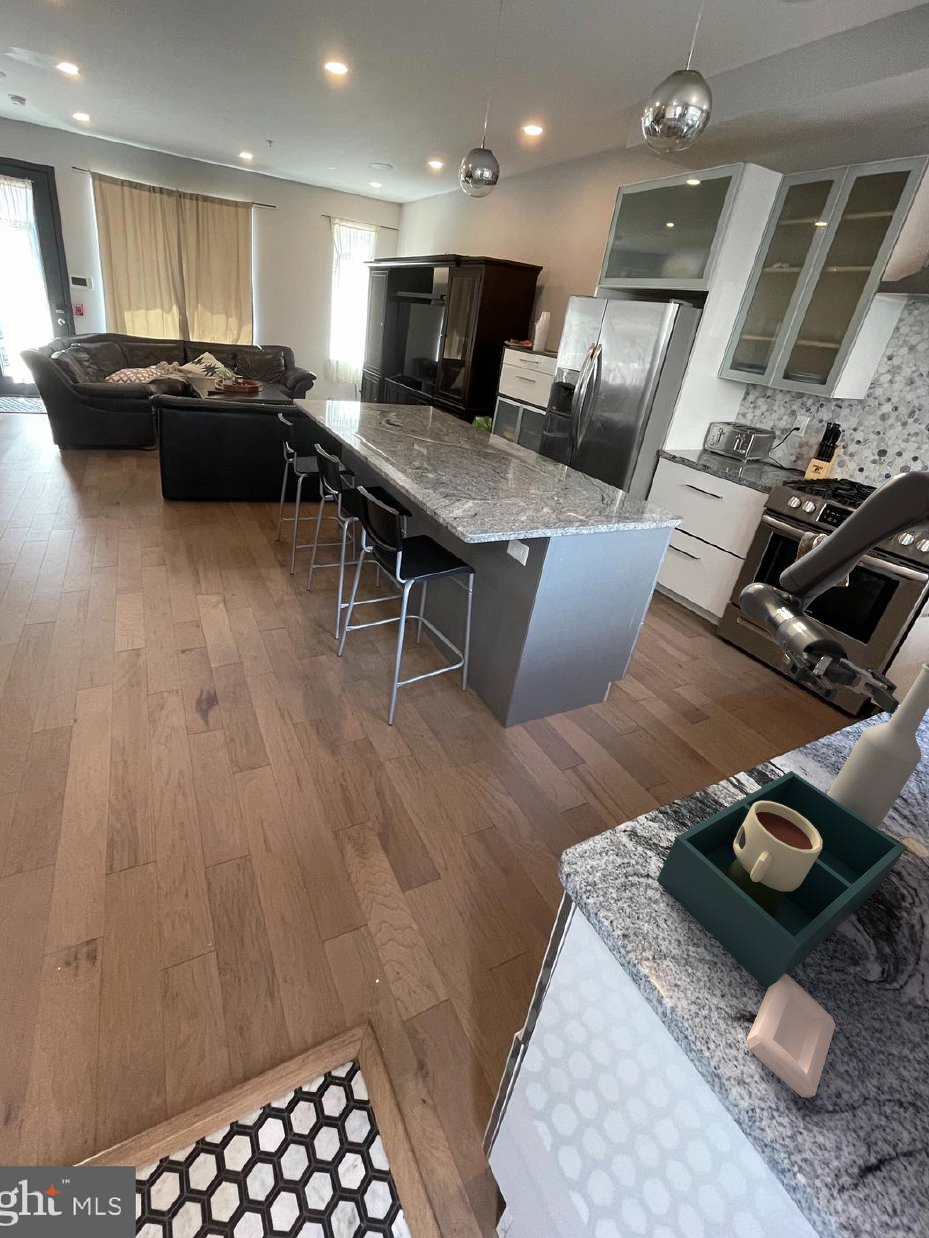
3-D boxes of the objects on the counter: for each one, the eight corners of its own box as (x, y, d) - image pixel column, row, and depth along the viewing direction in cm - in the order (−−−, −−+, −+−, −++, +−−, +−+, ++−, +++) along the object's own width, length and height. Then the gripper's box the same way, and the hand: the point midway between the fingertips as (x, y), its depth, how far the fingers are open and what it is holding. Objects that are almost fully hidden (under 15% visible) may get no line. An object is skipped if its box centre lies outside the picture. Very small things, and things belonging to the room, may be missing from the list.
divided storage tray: (771, 808, 82) (791, 770, 80) (878, 888, 72) (906, 848, 69) (656, 879, 68) (675, 836, 65) (769, 993, 57) (798, 947, 55)
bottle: (823, 838, 78) (919, 674, 68) (808, 804, 84) (895, 649, 73) (875, 855, 77) (983, 690, 66) (857, 820, 83) (953, 663, 72)
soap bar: (822, 1028, 56) (838, 1019, 55) (799, 1106, 50) (816, 1098, 49) (771, 978, 59) (785, 968, 57) (742, 1045, 53) (757, 1036, 51)
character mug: (730, 859, 72) (768, 784, 67) (789, 901, 67) (835, 824, 62) (695, 906, 65) (734, 826, 60) (758, 957, 60) (807, 875, 55)
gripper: (775, 619, 95) (823, 670, 80) (861, 635, 94) (927, 691, 79) (758, 656, 98) (802, 712, 83) (842, 672, 97) (902, 733, 82)
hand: (863, 702), depth 81 cm, fingers open, 8 cm apart
